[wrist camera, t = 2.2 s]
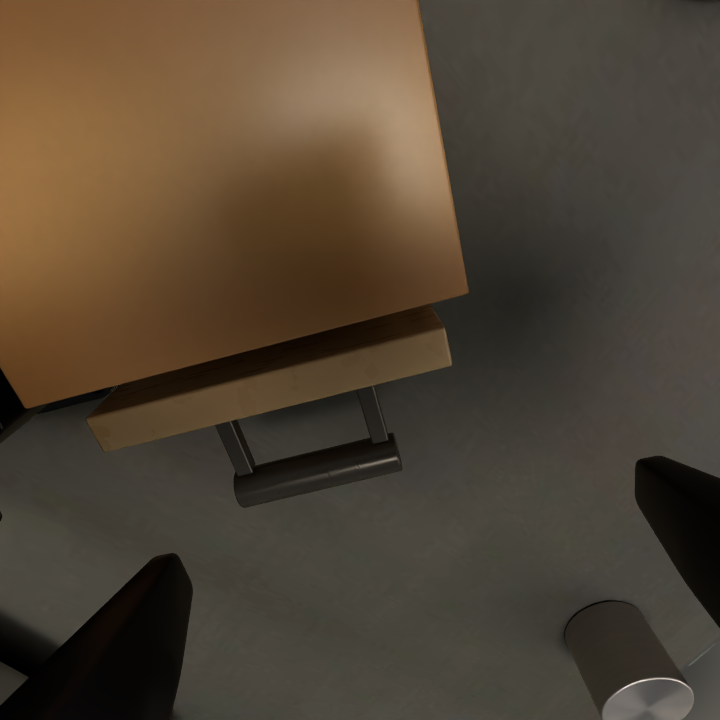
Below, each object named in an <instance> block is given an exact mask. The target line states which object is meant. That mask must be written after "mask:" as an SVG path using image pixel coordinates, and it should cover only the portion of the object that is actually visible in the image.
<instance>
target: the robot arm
mask: <svg viewBox="0 0 720 720" xmlns="http://www.w3.org/2000/svg"><path fill="white" fill-rule="evenodd" d="M112 387H113V386H112ZM112 387H108V388H104V389H100V390H96V391H92V392H89V393H85V394H81V395H77V396H73V397H69V398H66V399H62V400H58V401H54V402H50V403H46V404H43V405H39V406H35V407H31V408H25V407H24V405H23V404H22V402H21V400H20V399H19V397H18V396H17V394H16V392H15V391H14V389H13V388H12V386H11V384H10V383H9V381H8V379H7V378H6V376H5V375H4V373H3V371H2V370H1V368H0V443H2V442H3V441H4V440H5V439H7V438H8V437H9V436H10V435H12V434H13V433H14V432H15V431H16V430H18V429H19V428H20V427H21V426H23V425H24V424H25V423H26V422H27V421H29V420H30V419H31V418H32V417H34V416H35V415H36V414H40V413H44V412H48V411H52V410H56V409H59V408H63V407H67V406H71V405H75V404H79V403H83V402H86V401H90V400H94V399H98V398H102V397H104V396H106V395H107V394H108V393H109V392H110V391H111V390H112ZM635 498H636V501H637V504H638V506H639V508H640V510H641V511H642V513H643V515H644V516H645V518H646V519H647V521H648V523H649V524H650V526H651V528H652V529H653V531H654V533H655V534H656V536H657V537H658V539H659V541H660V542H661V544H662V546H663V547H664V549H665V551H666V552H667V554H668V555H669V557H670V559H671V560H672V562H673V564H674V565H675V567H676V569H677V570H678V572H679V573H680V575H681V576H682V578H683V579H684V581H685V582H686V584H687V585H688V587H689V588H690V589H691V591H692V592H693V593H694V595H695V596H696V597H697V599H698V600H699V601H700V603H701V604H702V605H703V607H704V608H705V609H706V611H707V612H708V613H709V615H710V616H711V617H712V619H713V620H714V621H715V623H716V624H717V625H718V627H719V628H720V478H718V477H715V476H713V475H710V474H707V473H705V472H702V471H700V470H697V469H694V468H692V467H689V466H687V465H684V464H682V463H679V462H676V461H674V460H671V459H669V458H666V457H663V456H653V457H648V458H643V459H640V460H638V461H637V463H636V466H635ZM1 519H2V514H1V512H0V521H1ZM192 595H193V588H192V583H191V580H190V578H189V576H188V574H187V572H186V570H185V568H184V566H183V564H182V562H181V560H180V558H179V556H178V555H176V554H174V553H170V554H165V555H160V556H156V557H154V558H152V559H151V560H150V561H149V562H148V563H147V564H146V565H145V566H144V567H143V568H142V569H141V570H140V571H139V572H138V573H137V574H136V575H135V576H134V577H133V578H132V579H131V580H129V581H128V582H127V583H126V584H125V585H124V586H123V587H122V588H121V589H120V590H119V591H118V592H117V593H116V594H115V595H114V596H113V597H112V598H111V599H110V600H109V601H108V602H107V603H106V604H105V605H104V606H103V607H102V608H100V609H99V610H98V611H97V612H96V613H95V614H94V615H93V616H92V617H91V618H90V619H89V620H88V621H87V622H86V623H85V624H84V625H83V626H82V627H81V628H80V629H79V630H78V631H77V632H76V633H75V634H74V635H73V636H71V637H70V638H69V639H68V640H67V641H66V642H65V643H64V644H63V645H62V646H61V647H60V648H59V649H58V650H57V651H56V652H55V653H54V654H53V655H52V656H51V657H50V658H49V659H48V660H47V661H46V662H45V663H43V664H42V665H41V666H40V667H39V668H38V669H37V670H36V671H35V672H34V673H33V674H32V675H31V676H30V677H29V678H28V679H27V680H26V681H25V682H24V683H23V684H22V685H21V686H20V687H19V688H18V689H17V690H15V691H14V692H13V693H12V694H11V695H10V696H9V697H8V698H7V699H6V700H5V701H4V702H3V703H2V704H1V705H0V720H170V717H171V713H172V709H173V705H174V701H175V697H176V693H177V688H178V684H179V679H180V675H181V669H182V663H183V657H184V650H185V643H186V636H187V629H188V623H189V616H190V609H191V602H192Z"/></svg>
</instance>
